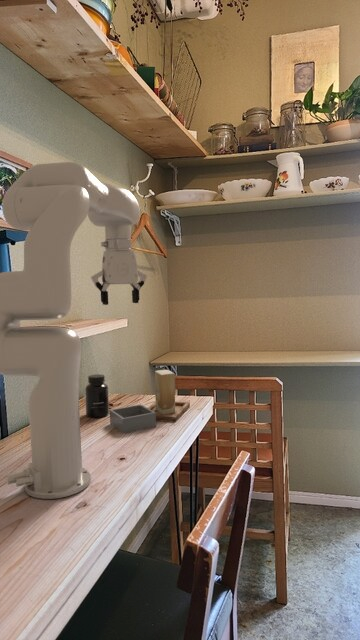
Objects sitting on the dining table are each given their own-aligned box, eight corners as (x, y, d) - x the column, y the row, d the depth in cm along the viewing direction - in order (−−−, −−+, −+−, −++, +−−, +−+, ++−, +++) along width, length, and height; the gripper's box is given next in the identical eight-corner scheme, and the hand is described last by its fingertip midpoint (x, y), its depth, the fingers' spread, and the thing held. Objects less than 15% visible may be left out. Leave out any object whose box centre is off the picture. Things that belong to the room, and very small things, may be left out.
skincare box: (155, 409, 136) (153, 370, 135) (168, 407, 137) (167, 369, 136) (162, 415, 130) (161, 374, 129) (176, 413, 131) (175, 372, 130)
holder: (123, 433, 117) (122, 418, 116) (110, 423, 125) (109, 409, 125) (156, 426, 121) (155, 412, 121) (141, 417, 130) (140, 404, 129)
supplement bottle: (96, 419, 129) (95, 379, 128) (81, 415, 133) (79, 376, 132) (113, 413, 134) (112, 375, 133) (98, 410, 138) (96, 372, 137)
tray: (175, 422, 125) (175, 417, 125) (139, 419, 128) (139, 414, 128) (189, 406, 140) (189, 402, 139) (156, 404, 143) (156, 400, 142)
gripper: (94, 244, 124) (97, 305, 125) (150, 245, 132) (152, 302, 134) (86, 246, 130) (88, 304, 132) (139, 247, 139) (141, 302, 140)
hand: (120, 303), depth 133 cm, fingers open, 9 cm apart
